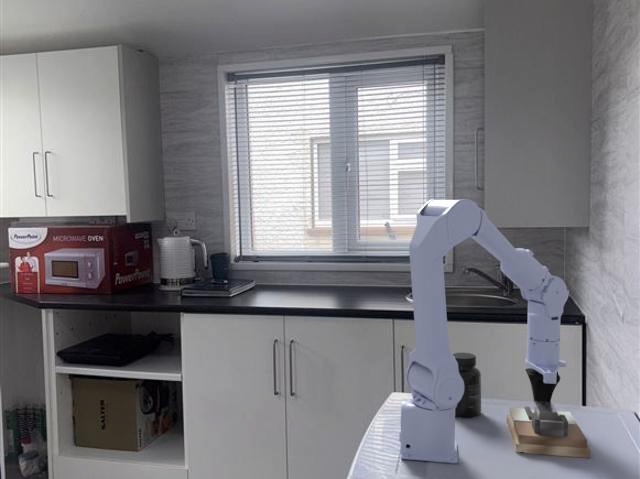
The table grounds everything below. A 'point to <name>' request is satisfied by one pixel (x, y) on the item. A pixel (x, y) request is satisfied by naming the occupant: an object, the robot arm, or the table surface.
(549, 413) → the bolt
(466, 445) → the table surface
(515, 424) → the lock board
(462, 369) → the supplement bottle
